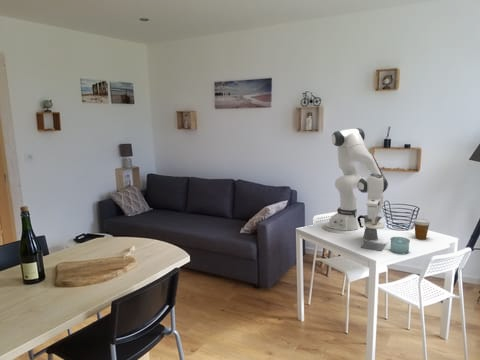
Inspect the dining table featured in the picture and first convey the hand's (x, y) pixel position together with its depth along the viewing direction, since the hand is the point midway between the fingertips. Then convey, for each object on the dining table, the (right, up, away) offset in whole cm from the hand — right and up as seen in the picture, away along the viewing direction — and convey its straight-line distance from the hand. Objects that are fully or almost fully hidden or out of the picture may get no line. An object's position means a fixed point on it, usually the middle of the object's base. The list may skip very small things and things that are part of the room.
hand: (374, 222), depth 217 cm
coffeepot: (+3, -13, +18) cm, 22 cm away
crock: (+13, -16, -5) cm, 21 cm away
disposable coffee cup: (+36, -12, +16) cm, 42 cm away
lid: (0, -2, 0) cm, 2 cm away
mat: (0, -15, +3) cm, 15 cm away
